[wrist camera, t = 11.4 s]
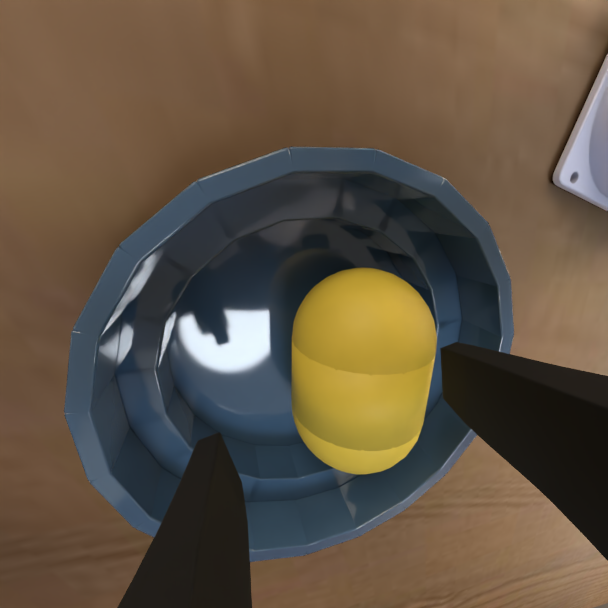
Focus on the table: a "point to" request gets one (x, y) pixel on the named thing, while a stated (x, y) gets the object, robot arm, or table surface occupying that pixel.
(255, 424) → the bowl
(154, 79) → the table surface
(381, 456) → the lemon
